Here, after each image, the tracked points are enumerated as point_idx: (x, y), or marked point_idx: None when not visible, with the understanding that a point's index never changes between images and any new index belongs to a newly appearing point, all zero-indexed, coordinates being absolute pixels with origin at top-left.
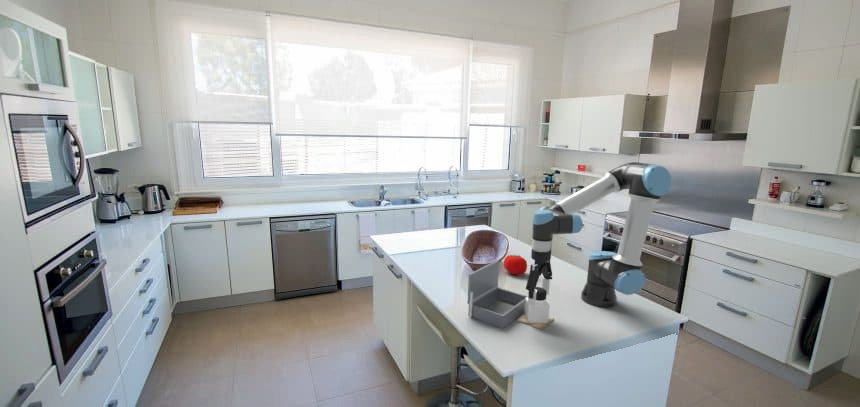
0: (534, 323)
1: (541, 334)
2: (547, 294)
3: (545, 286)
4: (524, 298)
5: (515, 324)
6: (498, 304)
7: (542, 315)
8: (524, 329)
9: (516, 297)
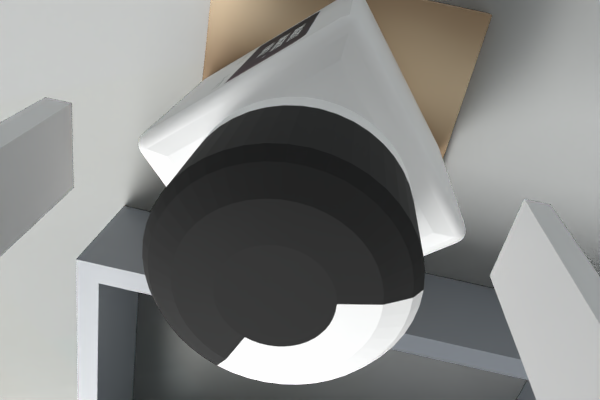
0: (424, 110)
1: (591, 6)
2: (68, 113)
3: (1, 200)
4: (108, 288)
5: (481, 242)
6: (216, 392)
7: (394, 66)
8: (544, 164)
9: (112, 339)
